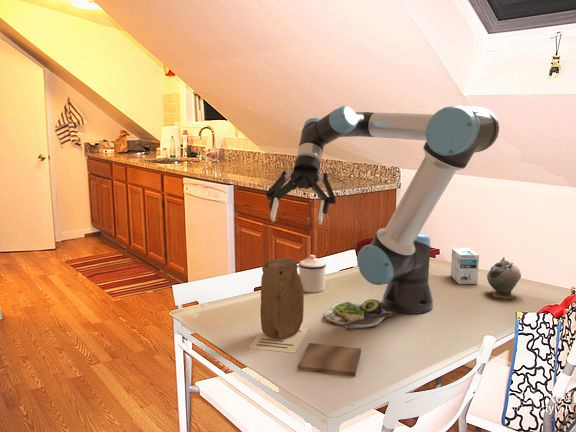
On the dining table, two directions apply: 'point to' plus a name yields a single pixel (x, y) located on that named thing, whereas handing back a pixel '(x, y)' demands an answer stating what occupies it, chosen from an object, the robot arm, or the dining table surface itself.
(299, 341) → the letter
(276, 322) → the brown tall rough part
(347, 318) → the salad plate
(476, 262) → the light bulb box
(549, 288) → the dining table surface
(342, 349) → the plate
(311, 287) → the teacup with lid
